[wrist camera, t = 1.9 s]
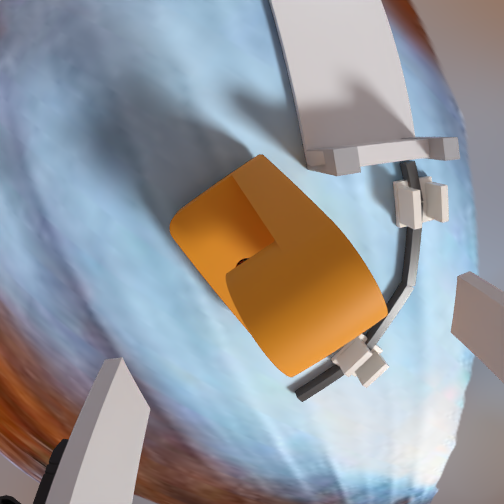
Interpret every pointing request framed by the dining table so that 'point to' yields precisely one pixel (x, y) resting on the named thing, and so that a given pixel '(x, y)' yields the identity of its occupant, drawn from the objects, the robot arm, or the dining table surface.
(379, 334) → the cable route
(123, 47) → the dining table surface
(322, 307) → the bracket
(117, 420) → the robot arm
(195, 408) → the dining table surface
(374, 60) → the holder
